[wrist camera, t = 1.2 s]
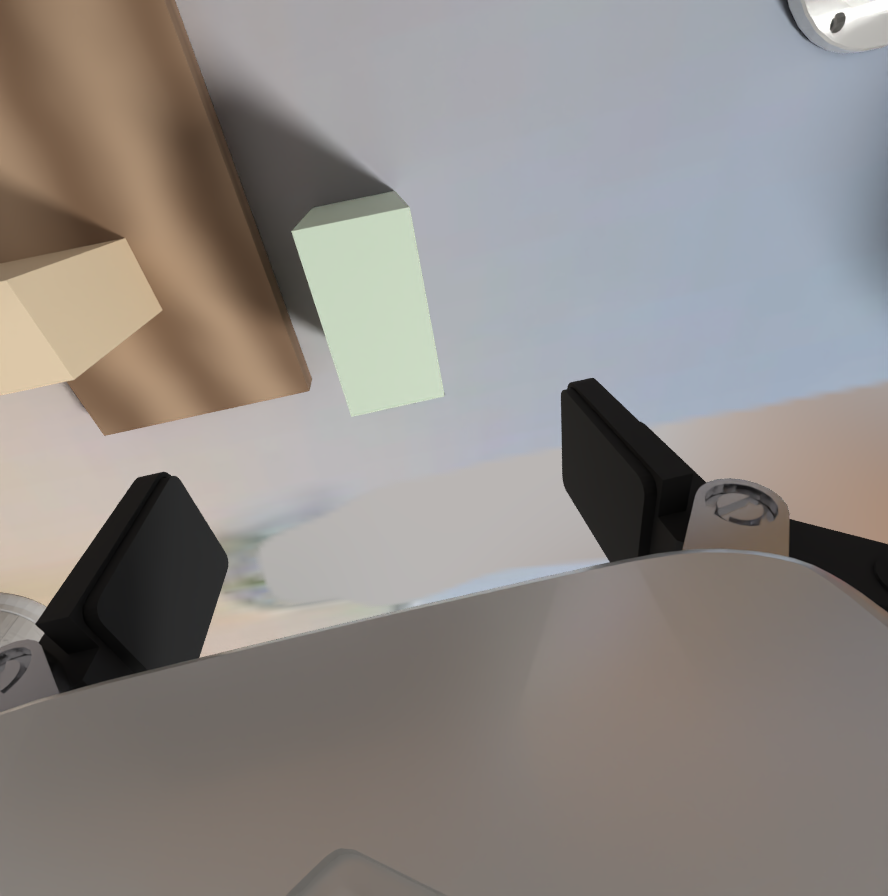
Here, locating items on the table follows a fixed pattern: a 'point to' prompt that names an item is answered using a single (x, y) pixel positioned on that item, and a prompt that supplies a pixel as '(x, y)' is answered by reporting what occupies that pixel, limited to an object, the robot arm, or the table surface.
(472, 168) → the table surface
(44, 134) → the shelf board
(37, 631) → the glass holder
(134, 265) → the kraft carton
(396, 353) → the carton
